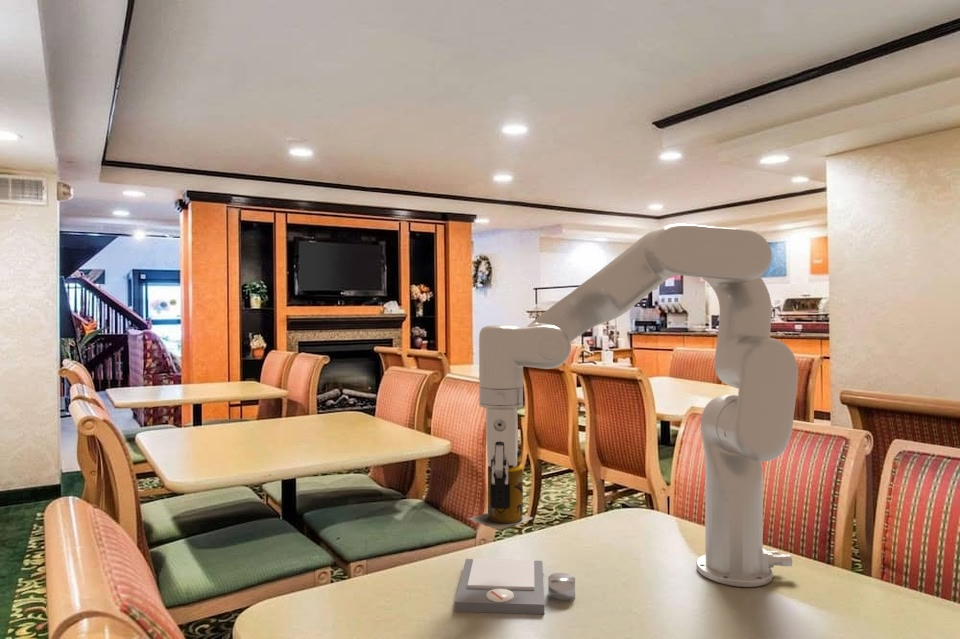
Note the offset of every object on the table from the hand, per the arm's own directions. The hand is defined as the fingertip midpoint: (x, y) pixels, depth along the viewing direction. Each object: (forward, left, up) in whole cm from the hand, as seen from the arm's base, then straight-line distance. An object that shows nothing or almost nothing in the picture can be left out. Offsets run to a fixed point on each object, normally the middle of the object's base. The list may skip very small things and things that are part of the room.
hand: (501, 500), depth 109 cm
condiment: (0, +1, -3) cm, 3 cm away
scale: (0, +2, -14) cm, 15 cm away
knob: (-10, +4, -15) cm, 18 cm away
